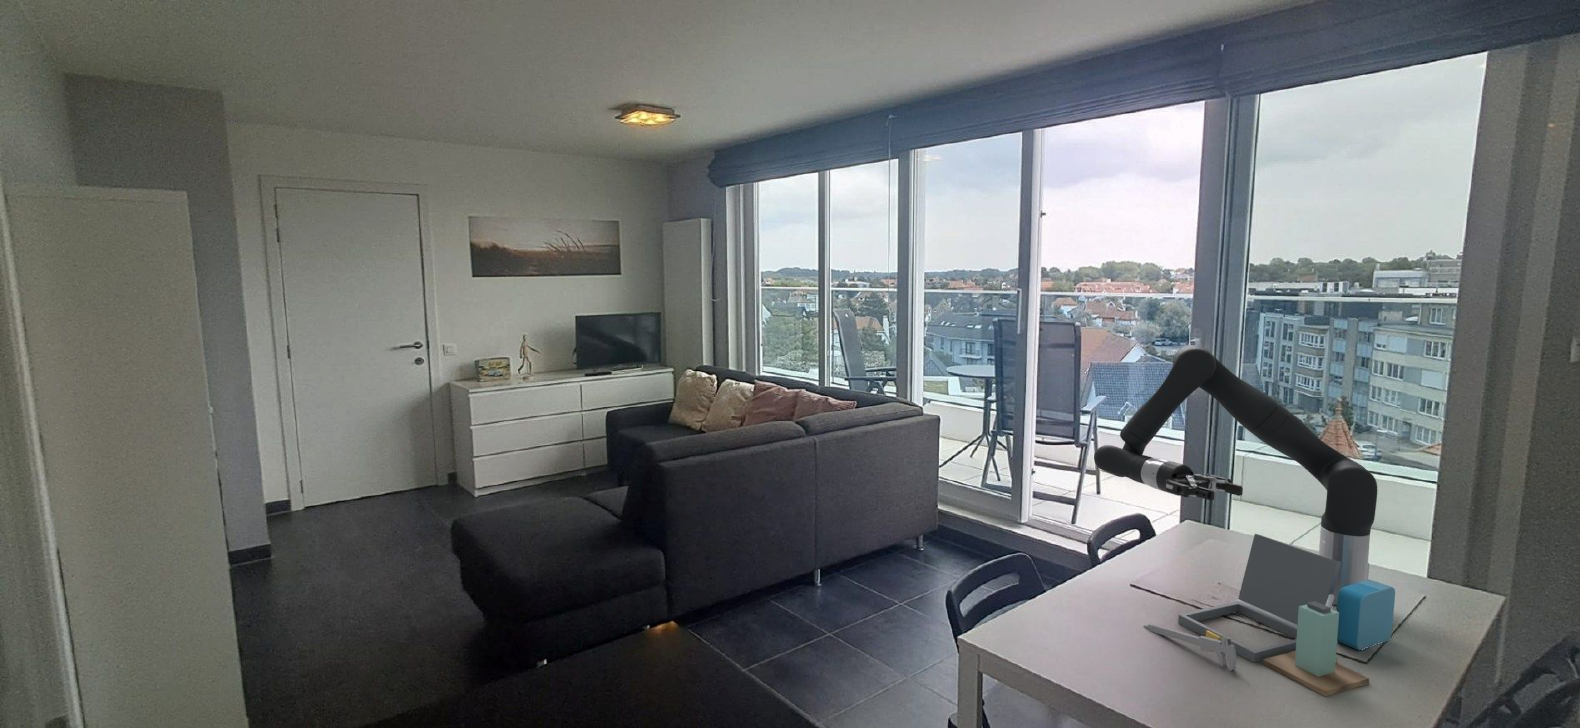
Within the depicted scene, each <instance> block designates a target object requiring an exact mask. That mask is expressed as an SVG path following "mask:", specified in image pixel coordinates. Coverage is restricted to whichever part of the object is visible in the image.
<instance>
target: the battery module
mask: <svg viewBox="0 0 1580 728" xmlns="http://www.w3.org/2000/svg"><path fill="white" fill-rule="evenodd" d="M1338 622H1339V612H1337V610H1334V609H1332V607H1331V608H1330V607H1328V606H1325V605H1323V604H1320V603H1318V602H1315V601H1314V602H1310V603H1308V604H1307V605H1303V606H1299V611H1298V626H1297V640H1296V654H1295V665H1296V666H1298V667H1300V668H1302V669H1304V670H1306V671H1308V672H1310V673H1312V674H1314V675H1316V676H1318V677H1319V676H1322V675H1326V674H1330V673H1333V672H1335V663H1336V659H1337V646H1338V645H1337V644H1338V641H1337V635H1338Z"/></svg>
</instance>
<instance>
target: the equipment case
mask: <svg viewBox="0 0 1580 728" xmlns="http://www.w3.org/2000/svg"><path fill="white" fill-rule="evenodd" d="M1252 539H1253V540H1252V542H1251V548H1250V551H1249V555H1248V559H1247V563H1246V566H1245V570H1244V574H1243V578H1242V582H1241V586H1240V590H1239V595H1238V598H1237V599H1236V601H1233V602H1229V603H1223V604H1219V605H1215V606H1211V607H1206V608H1201V609H1196V610H1194V611H1192V610H1191V611H1187V612H1184V613H1183V612H1182V613H1178V617H1177V618H1178V619H1177V620H1178V621H1177V623H1178V624H1180V625H1181V626H1183V627H1185V628H1187V629H1189V630H1191V631H1192V632H1195V633H1196V632H1197V634H1199V635H1200V636H1205V637H1208V638H1212V639H1216V640H1220V641H1221V638H1222V637H1225V638H1226V640H1227V639H1231V644H1232V645H1234V646H1235V651H1236V655H1239V656H1241V657H1242V658H1245V659H1247V660H1249V661H1251V662H1252V663H1258V662H1261V661H1262V662H1263V659H1266V658H1270V657H1274V656H1277V655H1281V654H1285V653H1289V652H1293V651H1296V640H1297V626H1298V611H1299V606H1303V605H1307V604H1308V603H1310V602H1314V601H1315V602H1318V603H1320V604H1323V605H1325V606H1328V607H1330V608H1331V609H1332V606H1333V600H1334V595H1333V593H1334V589H1335V585H1336V582H1337V578H1338V574H1339V570H1340V566H1341V562H1338V561H1335V560H1332V559H1329V558H1326V557H1324V556H1321V555H1319V553H1318V554H1317V553H1314V552H1312V551H1308V550H1305V549H1303V548H1300V547H1296V546H1294V545H1290V544H1288V543H1286V542H1282V541H1279V540H1276V539H1273V538H1271V537H1268V536H1264V535H1262V534H1259V533H1254V535H1253V538H1252ZM1234 612H1235V613H1234ZM1236 612H1237V613H1239V612H1240V613H1239V614H1241V613H1242V614H1241V615H1243V614H1244V615H1243V616H1245V615H1246V616H1245V617H1247V616H1248V617H1247V618H1249V617H1250V619H1252V618H1253V619H1252V620H1254V619H1255V620H1254V621H1256V622H1258V623H1261V624H1263V625H1265V626H1267V627H1269V628H1271V629H1274V630H1276V631H1278V632H1279V633H1282V634H1284V633H1285V634H1284V635H1286V634H1287V636H1288V635H1289V637H1290V638H1293V637H1294V638H1293V639H1291V640H1287V641H1283V642H1279V643H1278V642H1277V643H1275V644H1271V645H1267V646H1264V647H1259V648H1255V649H1253V648H1251V647H1249V646H1247V645H1246V644H1243V643H1241V642H1239V641H1237V640H1235V639H1234V638H1231V637H1229V636H1228V635H1225V634H1223V633H1221V632H1219V631H1217V630H1215V629H1213V628H1212V627H1209V626H1208V625H1206V624H1203V623H1202V622H1201V621H1205V620H1209V619H1213V618H1217V617H1218V618H1219V617H1223V615H1224V616H1227V615H1226V614H1228V615H1230V614H1229V613H1232V614H1237V613H1236Z"/></svg>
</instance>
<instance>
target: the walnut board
mask: <svg viewBox="0 0 1580 728" xmlns="http://www.w3.org/2000/svg"><path fill="white" fill-rule="evenodd" d="M1295 654H1296V651H1293V652H1289V653H1285V654H1281V655H1277V656H1274V657H1270V658H1266V659H1263V660H1262V665H1264V666H1266V667H1267V668H1269V669H1271V670H1273V671H1275V672H1276V673H1279V674H1281V675H1283V676H1285V677H1287V678H1289V679H1290V680H1293V681H1294V682H1296V683H1297V684H1300V685H1302V686H1304V687H1306V688H1307V689H1311V690H1312V691H1314V692H1315V693H1317V694H1319V695H1321V696H1324V697H1327V696H1331V695H1334V694H1339V693H1341V692H1345V691H1348V690H1351V689H1355V688H1359V687H1361V685H1362V686H1364V685H1368V684H1370V678H1369V677H1367V676H1365V675H1363V674H1361V673H1359V672H1356V671H1355V670H1352V669H1351V668H1348V667H1346V666H1344V665H1342V664H1339V663H1338V662H1335V672H1333V673H1330V674H1326V675H1322V676H1319V677H1318V676H1316V675H1314V674H1312V673H1310V672H1308V671H1306V670H1304V669H1302V668H1300V667H1298V666H1296V665H1295ZM1367 683H1368V684H1367Z"/></svg>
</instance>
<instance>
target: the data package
mask: <svg viewBox="0 0 1580 728" xmlns="http://www.w3.org/2000/svg"><path fill="white" fill-rule="evenodd" d="M1395 601H1396V589H1395V588H1394V587H1393V586H1390V585H1388V584H1384V583H1382V582H1379V581H1376V580H1372V579H1368V580H1365V581H1362V582H1359V583H1355V584H1352V585H1349V586H1345V587H1342V588H1341V589H1340V591H1339V593H1338V601H1337V605H1336V611H1337V612H1339V622H1338V635H1337V643H1340V642H1341V644H1343V645H1345V646H1347V647H1350V648H1352V647H1353V648H1352V649H1355V648H1356V650H1357V649H1358V651H1360V650H1362V649H1364V648H1366V647H1370V648H1372V647H1371V646H1373V645H1375V644H1378V643H1381V642H1384V643H1386V641H1387V642H1389V640H1390V639H1391V637H1392V634H1393V623H1394V612H1395ZM1381 644H1382V643H1381ZM1378 645H1379V644H1378ZM1373 647H1374V646H1373ZM1362 651H1363V650H1362Z"/></svg>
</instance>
